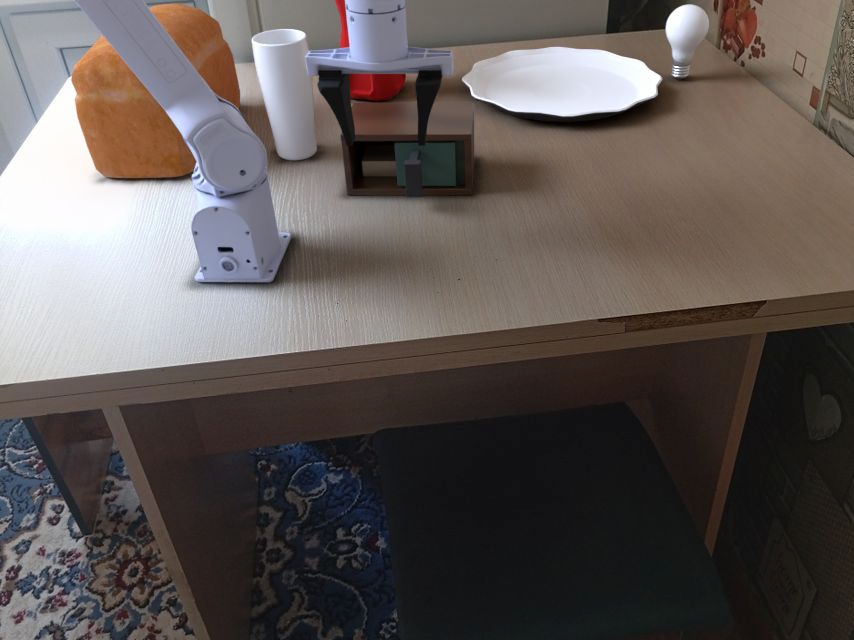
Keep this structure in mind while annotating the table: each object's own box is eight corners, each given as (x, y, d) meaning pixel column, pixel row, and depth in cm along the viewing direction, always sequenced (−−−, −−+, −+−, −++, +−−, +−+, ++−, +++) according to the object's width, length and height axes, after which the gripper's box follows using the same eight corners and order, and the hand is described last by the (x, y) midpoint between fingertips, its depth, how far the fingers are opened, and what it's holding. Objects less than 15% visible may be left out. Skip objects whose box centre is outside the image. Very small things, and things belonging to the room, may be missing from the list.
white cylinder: (312, 166, 101) (295, 46, 92) (263, 162, 102) (241, 44, 93) (330, 144, 106) (315, 29, 97) (283, 141, 107) (263, 27, 98)
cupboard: (472, 195, 94) (471, 134, 89) (347, 195, 94) (339, 134, 90) (474, 159, 101) (473, 102, 97) (359, 160, 102) (353, 102, 97)
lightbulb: (651, 74, 125) (660, 1, 119) (686, 70, 127) (698, -3, 120) (671, 88, 121) (682, 12, 114) (707, 82, 122) (720, 8, 115)
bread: (248, 103, 119) (227, -8, 109) (197, 180, 98) (165, 51, 88) (158, 104, 119) (129, -7, 110) (89, 181, 99) (45, 52, 89)
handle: (454, 203, 90) (453, 159, 86) (393, 203, 90) (389, 159, 87) (456, 183, 94) (455, 140, 90) (398, 183, 94) (394, 140, 91)
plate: (438, 119, 112) (438, 103, 111) (493, 55, 134) (493, 41, 133) (646, 140, 105) (648, 123, 104) (668, 69, 127) (670, 54, 126)
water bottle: (329, 103, 118) (304, -84, 103) (359, 79, 126) (341, -98, 111) (385, 109, 116) (369, -81, 100) (412, 84, 124) (401, -96, 109)
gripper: (453, -5, 78) (456, 127, 86) (309, -4, 79) (325, 126, 87) (449, 15, 72) (452, 154, 81) (293, 15, 73) (313, 153, 81)
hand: (386, 141), depth 83 cm, fingers open, 7 cm apart
